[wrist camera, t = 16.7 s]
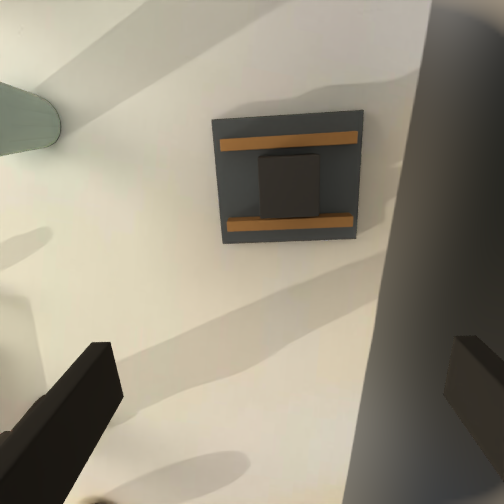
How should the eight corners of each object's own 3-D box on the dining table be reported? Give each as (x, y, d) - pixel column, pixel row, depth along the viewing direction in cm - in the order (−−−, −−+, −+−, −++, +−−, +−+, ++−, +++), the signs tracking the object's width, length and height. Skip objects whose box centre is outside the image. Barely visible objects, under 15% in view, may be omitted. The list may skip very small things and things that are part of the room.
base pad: (361, 110, 33) (369, 107, 30) (354, 236, 38) (361, 244, 35) (212, 120, 34) (207, 118, 31) (223, 241, 39) (220, 249, 36)
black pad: (313, 153, 34) (320, 154, 29) (313, 207, 36) (319, 216, 31) (258, 156, 34) (257, 158, 30) (261, 210, 36) (260, 218, 32)
